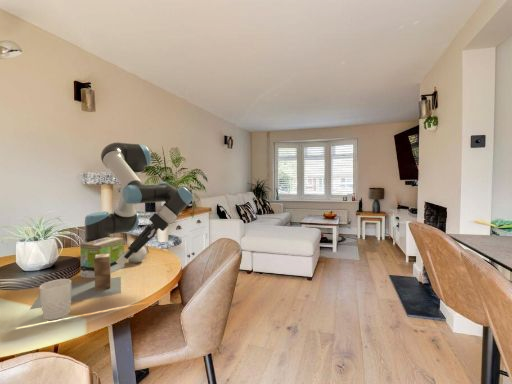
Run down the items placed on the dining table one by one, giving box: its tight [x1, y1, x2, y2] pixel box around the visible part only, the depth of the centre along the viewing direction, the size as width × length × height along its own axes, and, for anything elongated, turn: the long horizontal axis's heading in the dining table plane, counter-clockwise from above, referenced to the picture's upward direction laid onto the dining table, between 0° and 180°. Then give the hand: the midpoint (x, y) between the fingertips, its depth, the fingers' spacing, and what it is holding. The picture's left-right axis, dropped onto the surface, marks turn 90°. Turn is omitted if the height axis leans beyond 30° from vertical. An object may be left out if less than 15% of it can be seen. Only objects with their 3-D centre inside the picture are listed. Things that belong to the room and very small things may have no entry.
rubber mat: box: [29, 276, 122, 310], centre depth 99 cm, size 26×18×1 cm
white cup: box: [38, 278, 73, 322], centre depth 82 cm, size 8×8×10 cm
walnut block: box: [94, 253, 112, 291], centre depth 102 cm, size 5×5×12 cm
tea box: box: [80, 236, 125, 279], centre depth 119 cm, size 15×10×15 cm, turn 168°
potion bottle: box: [127, 244, 150, 264], centre depth 137 cm, size 9×10×15 cm
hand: (118, 263), depth 104 cm, fingers closed
